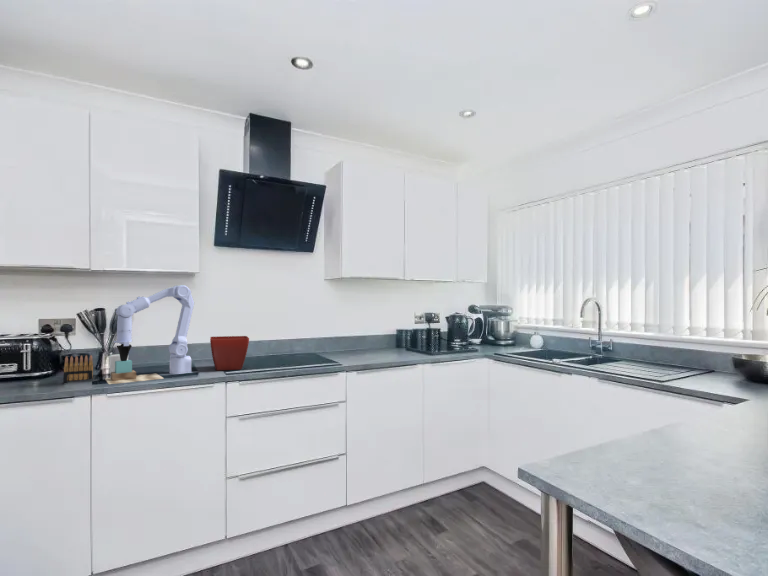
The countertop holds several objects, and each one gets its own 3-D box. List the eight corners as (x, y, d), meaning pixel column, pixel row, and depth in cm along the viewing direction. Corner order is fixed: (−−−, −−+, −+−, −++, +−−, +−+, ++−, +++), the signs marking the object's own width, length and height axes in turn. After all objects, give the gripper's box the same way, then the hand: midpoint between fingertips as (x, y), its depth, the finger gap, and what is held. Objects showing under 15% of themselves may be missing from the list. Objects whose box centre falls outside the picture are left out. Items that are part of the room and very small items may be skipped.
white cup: (124, 373, 204) (125, 353, 204) (130, 375, 199) (131, 354, 199) (106, 375, 198) (106, 355, 198) (112, 377, 193) (112, 356, 193)
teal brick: (130, 370, 189) (130, 359, 189) (131, 371, 186) (132, 360, 186) (114, 372, 185) (115, 361, 185) (116, 373, 182) (116, 362, 182)
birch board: (156, 375, 199) (156, 373, 199) (164, 380, 186) (164, 378, 186) (104, 380, 186) (104, 378, 186) (108, 386, 173) (108, 384, 173)
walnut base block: (133, 376, 191) (133, 370, 191) (136, 378, 185) (136, 372, 185) (110, 378, 185) (110, 372, 185) (112, 381, 180) (112, 374, 180)
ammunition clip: (93, 380, 185) (93, 354, 186) (92, 381, 184) (93, 354, 184) (63, 383, 180) (64, 355, 181) (62, 383, 179) (63, 356, 179)
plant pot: (246, 365, 233) (246, 335, 233) (249, 370, 215) (249, 338, 216) (209, 367, 225) (210, 336, 226) (209, 372, 208) (210, 339, 208)
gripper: (112, 330, 189) (111, 359, 189) (116, 332, 178) (115, 363, 177) (129, 329, 194) (129, 358, 193) (134, 331, 182) (134, 362, 182)
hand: (123, 360), depth 186 cm, fingers closed
